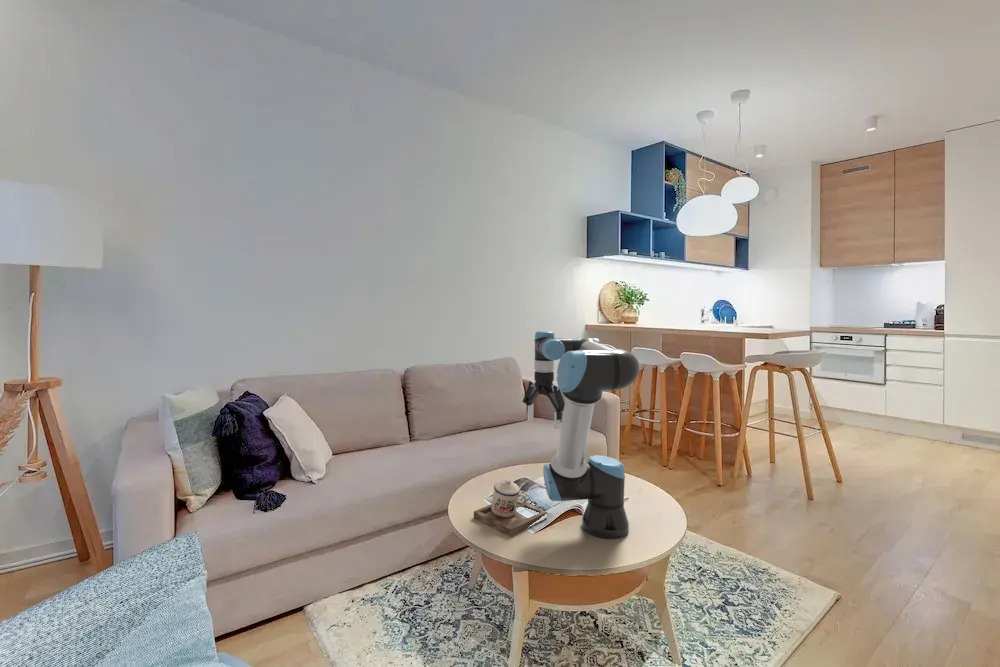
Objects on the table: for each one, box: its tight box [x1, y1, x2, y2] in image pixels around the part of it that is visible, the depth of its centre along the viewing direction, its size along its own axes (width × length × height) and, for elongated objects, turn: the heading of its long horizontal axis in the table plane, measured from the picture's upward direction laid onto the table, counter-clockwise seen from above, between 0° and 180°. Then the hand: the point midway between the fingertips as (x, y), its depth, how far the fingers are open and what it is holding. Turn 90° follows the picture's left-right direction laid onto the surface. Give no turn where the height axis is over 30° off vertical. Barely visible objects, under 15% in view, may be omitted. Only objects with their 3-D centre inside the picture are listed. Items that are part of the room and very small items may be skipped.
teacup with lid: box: [491, 478, 527, 517], centre depth 163 cm, size 12×9×12 cm
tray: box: [473, 499, 548, 537], centre depth 162 cm, size 18×18×2 cm
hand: (543, 424), depth 184 cm, fingers open, 13 cm apart
